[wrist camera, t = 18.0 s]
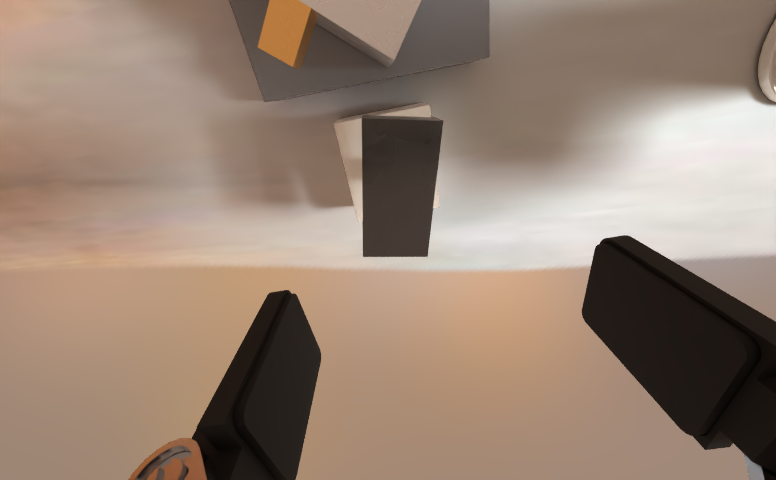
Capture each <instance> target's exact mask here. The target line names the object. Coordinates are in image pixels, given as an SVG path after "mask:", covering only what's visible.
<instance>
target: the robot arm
mask: <svg viewBox="0 0 776 480" xmlns="http://www.w3.org/2000/svg"><path fill="white" fill-rule="evenodd" d="M758 78H759V84H760V87H761V89H762V91H763V93H764V94H765V95H766V96H767V97H768V98H769V99H770V100H772V101H774V102H776V19H775V21H774V23H773V25H772V26H771V28H770V30H769V32H768V35H767V37H766V39H765V42H764V44H763V47H762V51H761V54H760V58H759V65H758ZM582 315H583V318H584V320H585V322H586V323H587V324H588V325H589V326H590V328H591V329H592V330H593V331H594V332H595V333H596V334H597V336H598V337H599V338H600V339H601V340H602V341H603V342H604V343H605V345H606V346H607V347H608V348H609V349H610V350H611V351H612V352H613V354H614V355H615V356H616V357H617V358H618V359H619V360H620V361H621V363H622V364H624V366H625V367H626V368H627V369H628V370H629V372H630V373H631V374H632V375H633V376H634V377H635V378H636V379H637V381H638V382H639V383H640V384H641V385H642V386H643V387H644V388H645V389H646V391H647V392H648V393H649V394H650V395H651V396H652V397H653V398H654V400H655V401H656V402H657V403H658V404H659V405H660V406H661V408H662V409H663V410H664V411H665V412H666V413H667V414H668V415H669V417H670V418H671V419H672V420H673V421H674V422H675V423H676V424H677V426H678V427H679V428H680V429H681V430H682V431H684V432H685V433H686V434H689V435H691V436H693V437H694V438H695V439H696V440H697V441H698V442H699V443H700V445H701V446H702V447H703V448H704V449H705V450H707V449H716V448H725V447H730V446H731V445H732V444H733V443H734V444H735V445H736V446H737V447H738V448H739V449H740V450H741V451H742V452H743V453H744V457H745V462H746V467H747V471H748V476H749V480H776V322H775V321H773V320H772V319H770V318H768V317H767V316H765V315H763V314H762V313H760V312H758V311H756V310H755V309H753V308H751V307H750V306H748V305H746V304H745V303H743V302H741V301H739V300H738V299H736V298H734V297H732V296H731V295H729V294H727V293H726V292H724V291H722V290H721V289H719V288H717V287H716V286H714V285H712V284H710V283H709V282H707V281H705V280H704V279H702V278H700V277H698V276H697V275H695V274H693V273H692V272H690V271H688V270H687V269H685V268H683V267H681V266H680V265H678V264H676V263H675V262H673V261H671V260H670V259H668V258H666V257H664V256H663V255H661V254H659V253H658V252H656V251H654V250H652V249H651V248H649V247H647V246H646V245H644V244H642V243H641V242H639V241H637V240H635V239H634V238H632V237H630V236H625V235H624V236H617V237H611V238H605V239H603V240H602V241H601V242H600V244H599V245H597V246H596V248H595V252H594V256H593V261H592V266H591V270H590V275H589V280H588V284H587V289H586V294H585V298H584V303H583V308H582ZM320 362H321V352H320V349H319V346H318V344H317V342H316V339H315V337H314V335H313V332H312V330H311V328H310V325H309V323H308V320H307V318H306V316H305V314H304V311H303V309H302V307H301V304H300V302H299V299H298V297H297V295H296V294H291V292H290V291H289V290H284V291H278V292H272V293H269V294H268V295H267V298H266V299H265V301H264V303H263V305H262V307H261V308H260V310H259V312H258V314H257V316H256V318H255V319H254V322H253V323H252V325H251V327H250V329H249V331H248V332H247V335H246V336H245V338H244V340H243V342H242V344H241V346H240V347H239V349H238V351H237V353H236V355H235V357H234V359H233V360H232V362H231V364H230V366H229V368H228V370H227V372H226V374H225V376H224V378H223V379H222V381H221V383H220V385H219V387H218V389H217V390H216V392H215V394H214V396H213V398H212V400H211V402H210V403H209V406H208V407H207V409H206V411H205V413H204V415H203V417H202V418H201V420H200V422H199V424H198V426H197V429H196V431H195V433H194V435H193V437H192V439H191V438H180V439H177V440H174V441H171V442H169V443H167V444H166V445H164V446H162V447H161V448H159V449H157V450H156V451H155V452H154V453H152V454H151V455H150V456H149V457H148V458H146V459H145V460H144V461H143V462H142V464H141V465H140V466H139V467H138V468H137V469H136V470H135V471H134V472H133V474H132V475H131V477H130V478H129V480H295V479H296V476H297V471H298V467H299V462H300V457H301V452H302V448H303V443H304V438H305V434H306V429H307V424H308V419H309V415H310V409H311V405H312V400H313V396H314V391H315V386H316V381H317V376H318V371H319V367H320Z"/></svg>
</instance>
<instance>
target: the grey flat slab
mask: <svg viewBox="0 0 776 480" xmlns="http://www.w3.org/2000/svg"><path fill="white" fill-rule="evenodd" d="M229 1H230V4H231V7H232V10H233V13H234V15H235V18H236V21H237V24H238V27H239V30H240V33H241V36H242V38H243V41H244V44H245V47H246V50H247V53H248V56H249V58H250V61H251V64H252V67H253V70H254V73H255V76H256V79H257V81H258V84H259V87H260V90H261V93H262V96H263V99H264V102H270V101H279V100H284V99H289V98H294V97H299V96H304V95H309V94H314V93H319V92H324V91H329V90H334V89H339V88H344V87H349V86H354V85H359V84H364V83H369V82H374V81H379V80H384V79H389V78H394V77H399V76H404V75H409V74H414V73H419V72H424V71H429V70H434V69H439V68H444V67H449V66H454V65H459V64H464V63H469V62H473V61H477V60H480V59H484V58H487V57H489V0H421V2H420V4H419V6H418V9H417V11H416V13H415V15H414V18H413V20H412V22H411V24H410V27H409V29H408V31H407V33H406V35H405V38H404V40H403V42H402V44H401V47H400V49H399V51H398V53H397V56H396V58H395V60H394V61H393V63H392V64H391V65H390V67H389V68H387V67H386V66H384V65H383V64H381V63H379V62H378V61H376V60H374V59H373V58H371V57H370V56H368V55H366V54H365V53H363V52H361V51H360V50H358V49H357V48H355V47H353V46H352V45H350V44H349V43H347V42H345V41H344V40H342V39H340V38H339V37H337V36H336V35H334V34H332V33H331V32H329V31H327V30H326V29H324V28H323V27H321V26H319V25H318V24H316V23H315V26H314V29H313V32H312V35H311V39H310V42H309V45H308V48H307V51H306V54H305V57H304V60H303V63H302V66H301V69H297V68H294V67H292V66H290V65H288V64H286V63H285V62H283V61H281V60H279V59H277V58H276V57H274V56H272V55H270V54H269V53H267V52H265V51H263V50H261V49H260V48H258V43H259V39H260V35H261V32H262V28H263V24H264V20H265V16H266V12H267V8H268V5H269V1H270V0H229Z"/></svg>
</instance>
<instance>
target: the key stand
mask: <svg viewBox="0 0 776 480" xmlns="http://www.w3.org/2000/svg"><path fill="white" fill-rule="evenodd" d="M362 115H378V116H410V117H431V109H430V105H428V104H424V103H418V104H413V105H408V106H403V107H398V108H392V109H387V110H382V111H377V112H372V113H367V114H362ZM362 115H357V116H352V117H347V118H342V119H338V120H337V121H336V122H335V123H334V128H335V132H336V136H337V140H338V144H339V148H340V152H341V156H342V160H343V164H344V168H345V172H346V176H347V180H348V184H349V188H350V192H351V196H352V200H353V204H354V208H355V212H356V216H357V220H358V222H362V221H363V200H362ZM438 207H439V196H438V185H437V178H436V187H435V195H434V204H433V208H438Z"/></svg>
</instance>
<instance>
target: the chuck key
mask: <svg viewBox="0 0 776 480" xmlns="http://www.w3.org/2000/svg"><path fill="white" fill-rule="evenodd" d="M442 127H443V121H442V120H440V119H438V118H435V117H410V116H378V115H362V200H363V257H427V256H428V247H429V238H430V230H431V221H432V213H433V204H434V195H435V187H436V178H437V170H438V161H439V152H440V144H441V135H442Z"/></svg>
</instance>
